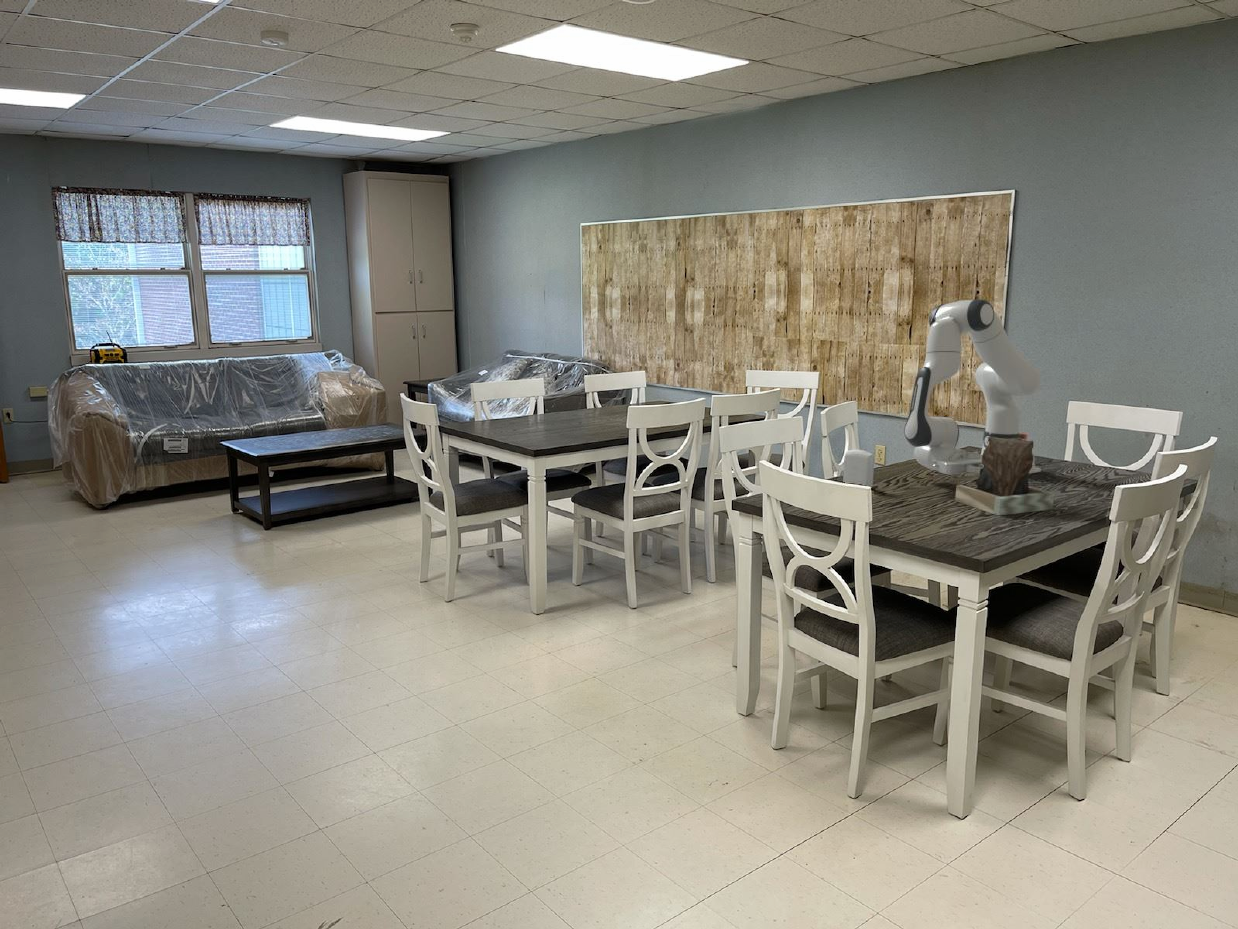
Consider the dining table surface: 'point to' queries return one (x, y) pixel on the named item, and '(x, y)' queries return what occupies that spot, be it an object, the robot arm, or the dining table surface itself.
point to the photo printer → (858, 467)
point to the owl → (1006, 467)
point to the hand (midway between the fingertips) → (984, 470)
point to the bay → (1005, 500)
